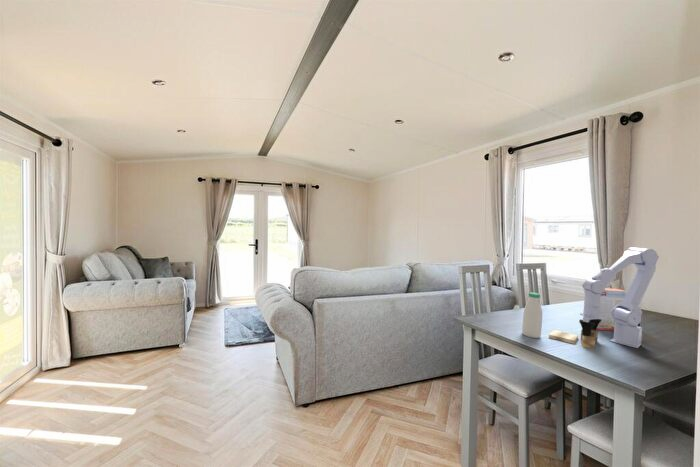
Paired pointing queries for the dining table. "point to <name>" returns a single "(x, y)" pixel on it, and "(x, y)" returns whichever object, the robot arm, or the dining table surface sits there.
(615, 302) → the cracker box
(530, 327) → the milk bottle
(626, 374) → the dining table surface
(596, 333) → the walnut cube
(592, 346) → the oak cube
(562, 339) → the base board
